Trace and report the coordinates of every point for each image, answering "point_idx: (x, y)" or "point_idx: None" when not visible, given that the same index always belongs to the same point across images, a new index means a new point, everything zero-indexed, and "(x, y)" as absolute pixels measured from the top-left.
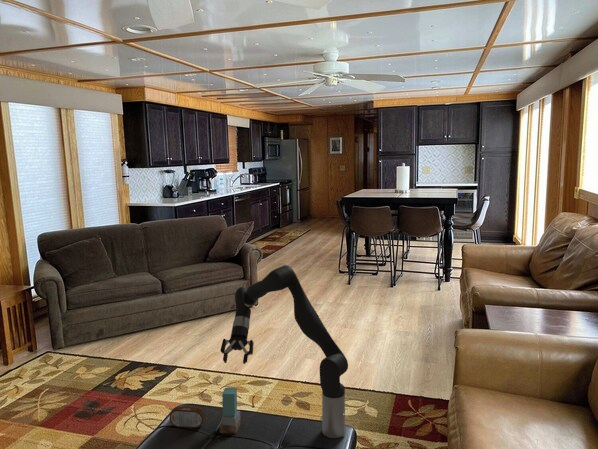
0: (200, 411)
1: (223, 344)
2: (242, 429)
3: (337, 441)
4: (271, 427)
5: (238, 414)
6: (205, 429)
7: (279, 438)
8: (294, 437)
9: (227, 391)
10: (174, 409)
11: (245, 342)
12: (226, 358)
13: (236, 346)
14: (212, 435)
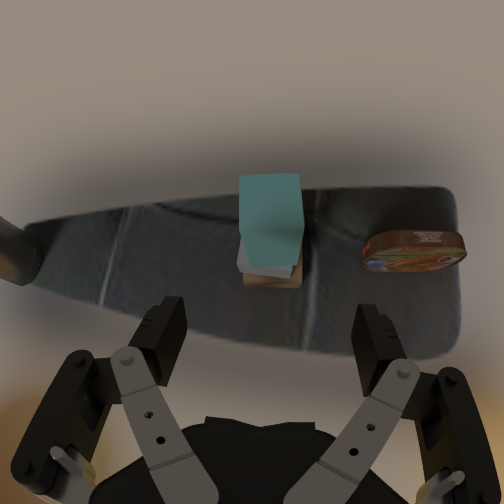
0: (382, 241)
1: (467, 441)
2: (233, 258)
3: (27, 229)
4: (147, 274)
5: (240, 245)
6: (348, 249)
7: (128, 225)
8: (95, 233)
9: (279, 193)
10: (460, 238)
11: (108, 485)
12: (362, 343)
13: (262, 447)
14: (317, 222)
